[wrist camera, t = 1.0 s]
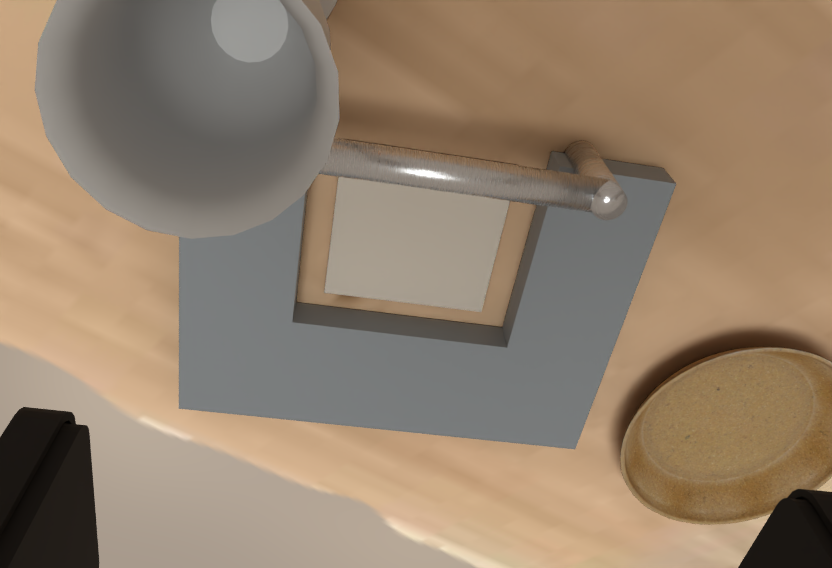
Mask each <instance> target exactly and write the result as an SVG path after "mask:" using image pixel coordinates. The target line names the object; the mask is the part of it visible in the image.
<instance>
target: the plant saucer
mask: <svg viewBox="0 0 832 568" xmlns="http://www.w3.org/2000/svg"><path fill="white" fill-rule="evenodd" d="M620 463H621V471H622V475H623V478H624V480H625V482H626V484H627V486H628V488H629V489H630V491H631V492H632V494H633V495H634V496H635V497H636V498H637V499H638V500H639V501H640V502H641V503H642V504H643V505H644V506H646V507H647V508H648V509H650V510H652V511H654V512H656V513H658V514H660V515H663V516H665V517H667V518H669V519H673V520H676V521H680V522H686V523H692V524H708V525H710V524H730V523H737V522H743V521H748V520H752V519H756V518H759V517H762V516H766V515H769V514H772V512H773V510H774V509H775V507H776V505H777V504H778V503H779V501H780V500H782V499H784V498H787V497H788V496H789V495H790V494H791V492H792V491H794V490H797V489H807V490H817V489H818V488H819V487H821V486H822V485H823V484H824V483H826V482H827V481H828V480H829V479H830V478H831V477H832V362H831V361H829V360H827V359H825V358H823V357H820V356H818V355H815V354H812V353H809V352H805V351H801V350H796V349H789V348H781V347H751V348H741V349H735V350H730V351H725V352H721V353H718V354H714V355H711V356H708V357H705V358H703V359H700V360H698V361H696V362H694V363H692V364H690V365H688V366H686V367H684V368H682V369H681V370H679V371H677V372H676V373H674V374H673V375H672V376H670V377H669V378H668V379H666V380H665V381H664V382H662V383H661V384H660V385H659V386H658V387H657V388H656V389H655V390H654V391H653V392H652V393H651V394H650V395H649V396H648V397H647V398H646V400H645V401H644V402H643V403H642V405H641V406H640V407H639V409H638V410H637V412H636V413H635V415H634V417H633V418H632V420H631V422H630V424H629V426H628V428H627V431H626V433H625V436H624V439H623V443H622V447H621V454H620Z"/></svg>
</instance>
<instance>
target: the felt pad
mask: <svg viewBox="0 0 832 568" xmlns="http://www.w3.org/2000/svg"><path fill="white" fill-rule="evenodd" d="M343 140H345V139H343ZM350 141H352V140H350ZM357 142H359V141H357ZM363 143H366V142H363ZM370 144H372V143H370ZM377 145H379V144H377ZM384 146H386V145H384ZM390 147H393V146H390ZM397 148H399V147H397ZM404 149H406V148H404ZM411 150H413V149H411ZM417 151H420V150H417ZM424 152H426V151H424ZM431 153H433V152H431ZM438 154H440V153H438ZM444 155H446V154H444ZM451 156H453V155H451ZM458 157H460V156H458ZM464 158H467V157H464ZM471 159H473V158H471ZM478 160H480V159H478ZM485 161H487V160H485ZM491 162H494V161H491ZM498 163H500V162H498ZM505 164H507V163H505ZM512 165H514V164H512ZM509 203H510V201H506V200H499V199H492V198H485V197H478V196H471V195H464V194H457V193H450V192H443V191H436V190H429V189H422V188H415V187H408V186H401V185H394V184H387V183H380V182H373V181H366V180H359V179H352V178H345V177H338V185H337V193H336V202H335V210H334V218H333V226H332V234H331V242H330V250H329V258H328V267H327V275H326V283H325V291H324V293H331V294H339V295H347V296H355V297H363V298H371V299H380V300H388V301H396V302H404V303H412V304H420V305H428V306H436V307H444V308H452V309H460V310H468V311H477V312H481V311H482V308H483V304H484V300H485V296H486V292H487V288H488V284H489V280H490V276H491V273H492V269H493V265H494V261H495V257H496V253H497V249H498V245H499V242H500V238H501V234H502V230H503V226H504V222H505V218H506V214H507V211H508V207H509Z"/></svg>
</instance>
